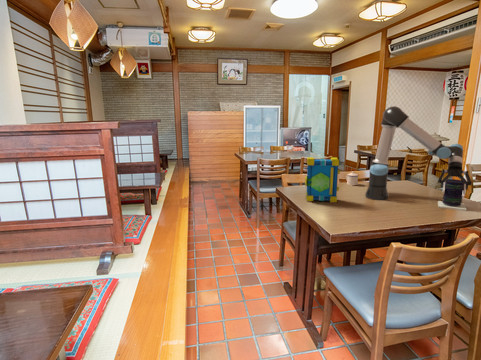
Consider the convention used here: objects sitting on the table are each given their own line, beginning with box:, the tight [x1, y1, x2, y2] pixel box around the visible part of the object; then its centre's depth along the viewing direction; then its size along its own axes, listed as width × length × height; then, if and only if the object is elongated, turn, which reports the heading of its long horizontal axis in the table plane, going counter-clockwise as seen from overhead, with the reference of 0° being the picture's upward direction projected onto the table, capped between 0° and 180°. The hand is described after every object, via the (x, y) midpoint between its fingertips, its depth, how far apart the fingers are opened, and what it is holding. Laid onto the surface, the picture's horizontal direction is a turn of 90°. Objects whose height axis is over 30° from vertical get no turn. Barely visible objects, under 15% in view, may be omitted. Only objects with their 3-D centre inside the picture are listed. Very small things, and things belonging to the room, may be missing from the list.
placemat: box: [437, 200, 467, 212], centre depth 180 cm, size 14×14×1 cm
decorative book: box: [304, 156, 341, 203], centre depth 195 cm, size 14×23×30 cm, turn 78°
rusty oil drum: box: [442, 178, 465, 206], centre depth 179 cm, size 10×10×15 cm
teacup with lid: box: [345, 171, 359, 186], centre depth 245 cm, size 12×9×12 cm
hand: (453, 192), depth 176 cm, fingers closed on rusty oil drum, 10 cm apart
